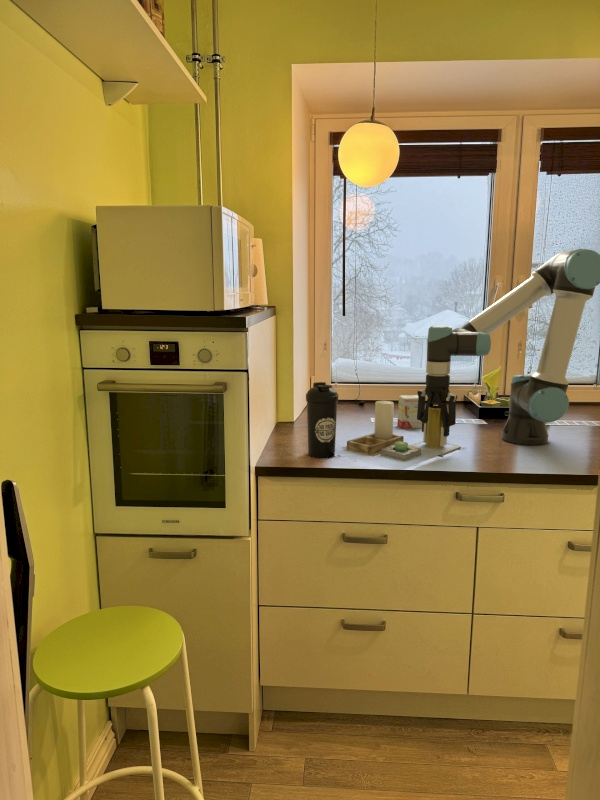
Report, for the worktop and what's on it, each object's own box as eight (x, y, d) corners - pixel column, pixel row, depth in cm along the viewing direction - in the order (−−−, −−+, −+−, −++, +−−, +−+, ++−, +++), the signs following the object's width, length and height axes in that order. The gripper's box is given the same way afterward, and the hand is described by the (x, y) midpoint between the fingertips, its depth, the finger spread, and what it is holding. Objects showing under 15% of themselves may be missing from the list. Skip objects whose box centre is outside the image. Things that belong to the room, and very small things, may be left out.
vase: (441, 446, 198) (443, 404, 195) (446, 451, 192) (448, 408, 189) (423, 446, 197) (424, 404, 194) (427, 451, 191) (429, 408, 188)
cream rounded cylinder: (395, 443, 197) (397, 402, 194) (385, 447, 193) (386, 405, 190) (381, 440, 201) (382, 399, 198) (370, 443, 197) (371, 402, 194)
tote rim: (460, 449, 194) (461, 446, 194) (441, 457, 186) (441, 453, 186) (427, 442, 203) (427, 438, 203) (407, 448, 195) (407, 445, 195)
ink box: (401, 428, 221) (402, 398, 219) (397, 425, 226) (398, 395, 224) (423, 428, 223) (424, 397, 220) (418, 424, 227) (419, 394, 225)
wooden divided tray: (408, 447, 196) (408, 437, 195) (373, 459, 183) (373, 448, 182) (377, 440, 205) (377, 430, 204) (341, 451, 192) (341, 440, 191)
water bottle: (311, 460, 182) (311, 387, 177) (301, 451, 191) (302, 381, 187) (341, 458, 185) (343, 385, 180) (331, 449, 194) (332, 380, 190)
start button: (410, 449, 184) (410, 443, 184) (402, 451, 181) (403, 445, 181) (399, 446, 187) (399, 440, 187) (392, 449, 184) (392, 443, 184)
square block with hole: (421, 458, 185) (421, 449, 184) (404, 464, 178) (404, 454, 178) (397, 452, 191) (397, 443, 190) (380, 458, 185) (380, 448, 184)
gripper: (470, 376, 186) (466, 446, 190) (419, 369, 199) (417, 436, 203) (458, 378, 180) (454, 451, 185) (406, 372, 193) (404, 440, 198)
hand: (434, 443), depth 194 cm, fingers closed on vase, 6 cm apart
